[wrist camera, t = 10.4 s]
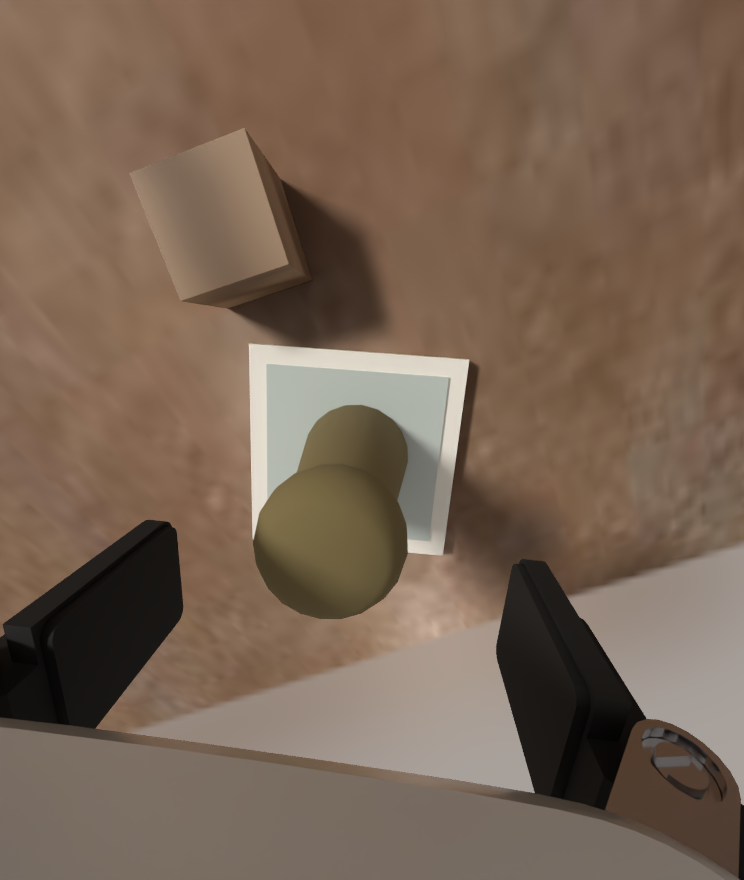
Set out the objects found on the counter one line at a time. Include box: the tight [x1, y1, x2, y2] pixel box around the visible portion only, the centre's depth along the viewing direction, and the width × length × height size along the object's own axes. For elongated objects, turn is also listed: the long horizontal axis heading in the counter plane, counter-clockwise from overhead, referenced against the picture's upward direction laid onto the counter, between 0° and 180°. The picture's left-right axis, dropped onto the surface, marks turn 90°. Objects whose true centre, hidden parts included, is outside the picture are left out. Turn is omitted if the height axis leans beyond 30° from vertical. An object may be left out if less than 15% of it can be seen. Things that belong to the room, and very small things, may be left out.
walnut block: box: [129, 128, 312, 308], centre depth 18 cm, size 5×5×5 cm
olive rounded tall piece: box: [253, 405, 408, 619], centre depth 17 cm, size 6×6×11 cm
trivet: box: [249, 343, 469, 555], centre depth 22 cm, size 12×12×1 cm
